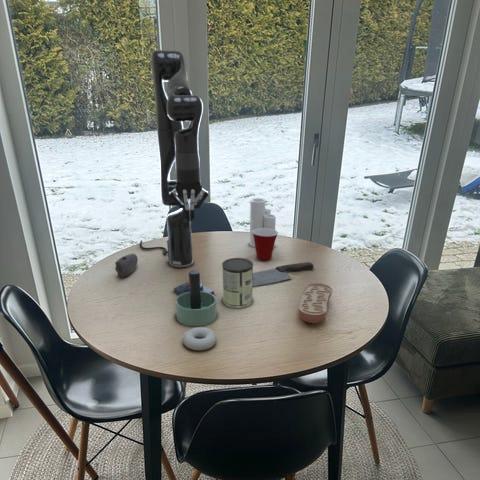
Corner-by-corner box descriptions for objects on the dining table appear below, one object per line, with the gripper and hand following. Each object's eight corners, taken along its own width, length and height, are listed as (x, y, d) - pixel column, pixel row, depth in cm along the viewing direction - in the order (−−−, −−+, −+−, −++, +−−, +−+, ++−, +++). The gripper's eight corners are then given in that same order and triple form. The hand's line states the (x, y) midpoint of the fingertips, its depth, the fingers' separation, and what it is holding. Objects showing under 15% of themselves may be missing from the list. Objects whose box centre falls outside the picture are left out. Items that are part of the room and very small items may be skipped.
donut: (215, 334, 145) (183, 334, 144) (215, 324, 143) (182, 325, 142) (217, 352, 136) (182, 353, 136) (217, 342, 135) (182, 343, 134)
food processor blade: (179, 317, 152) (176, 274, 145) (191, 306, 158) (189, 265, 151) (201, 322, 149) (199, 279, 142) (212, 311, 156) (211, 269, 148)
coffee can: (228, 292, 169) (228, 255, 162) (256, 297, 166) (257, 259, 159) (218, 305, 161) (217, 267, 154) (246, 310, 158) (247, 271, 151)
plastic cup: (280, 256, 199) (282, 228, 193) (271, 265, 191) (272, 237, 185) (257, 251, 203) (258, 224, 197) (247, 260, 194) (247, 232, 188)
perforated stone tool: (131, 264, 191) (129, 247, 187) (143, 265, 190) (141, 249, 186) (112, 279, 178) (110, 262, 175) (125, 281, 177) (123, 263, 174)
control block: (174, 292, 169) (173, 283, 168) (192, 284, 175) (191, 276, 173) (195, 303, 162) (195, 294, 160) (214, 295, 167) (213, 286, 166)
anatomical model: (324, 330, 147) (325, 316, 145) (292, 325, 149) (293, 311, 147) (332, 297, 166) (333, 285, 164) (304, 294, 168) (305, 281, 166)
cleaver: (307, 264, 191) (307, 259, 190) (320, 273, 184) (321, 268, 183) (241, 278, 180) (241, 273, 179) (253, 288, 173) (253, 283, 172)
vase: (248, 246, 208) (248, 201, 198) (251, 240, 214) (252, 197, 204) (273, 248, 206) (275, 203, 196) (276, 243, 212) (278, 198, 202)
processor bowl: (168, 316, 154) (167, 299, 151) (198, 303, 162) (197, 287, 159) (194, 330, 146) (193, 314, 143) (224, 316, 154) (224, 300, 151)
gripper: (165, 169, 142) (169, 224, 151) (209, 168, 143) (210, 223, 152) (166, 163, 149) (170, 217, 157) (208, 163, 150) (209, 216, 159)
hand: (190, 220), depth 155 cm, fingers closed
